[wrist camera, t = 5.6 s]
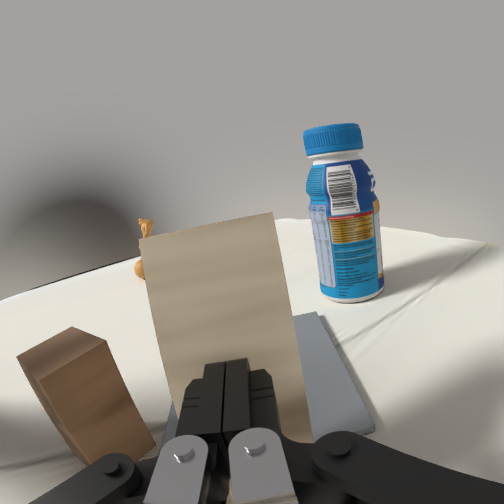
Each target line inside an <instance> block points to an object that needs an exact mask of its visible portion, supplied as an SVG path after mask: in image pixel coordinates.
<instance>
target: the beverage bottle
mask: <svg viewBox="0 0 504 504" xmlns="http://www.w3.org/2000/svg"><path fill="white" fill-rule="evenodd" d="M303 139H304V145H305V150H306V154H307V156H308V159H310V158H314V163H313V165H312V167H311V170H310V172H309V175H308V178H307V183H306V192H307V193H308V195H309V196H310V199H311V202H310V205H309V217H310V219H311V222H312V229H313V235H314V242H315V248H316V255H317V262H318V270H319V277H320V289H321V293H322V295H323V296H324V297H325V298H327V299H329V300H331V301H335V302H340V303H354V302H361V301H365V300H368V299H371V298H373V297H375V296H376V295H378V294H379V293H380V292H381V291H382V290H383V287H384V275H383V263H382V248H381V235H380V224H379V201H378V199H377V197H376V195H375V194H374V186H375V179H374V177H373V174H372V172H371V171H370V169H369V168H368V166H367V165H366V164H365V162H364V161H363V160H362V159H361V158H360V156H359V154H358V152H362V151H363V143H362V142H363V141H362V136H361V130H360V128H359V125H358V124H354V123H344V124H334V125H327V126H321V127H316V128H312V129H308V130H306V131H304V133H303Z"/></svg>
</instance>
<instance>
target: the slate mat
mask: <svg viewBox="0 0 504 504" xmlns="http://www.w3.org/2000/svg"><path fill="white" fill-rule="evenodd" d="M293 322H294V327H295V333H296V338H297V344H298V350H299V356H300V361H301V367H302V373H303V379H304V385H305V391H306V397H307V403H308V409H309V416H310V422H311V428H312V435H313V441H314V443H315V442H316V441H317V440H318V439H319V438H321V437H322V436H324V435H326V434H328V433H331V432H335V431H350V432H353V433H356V434H358V435H364V434H368V433H371V432H374V431H375V425H374V423H373V421H372V419H371V417H370V415H369V413H368V411H367V409H366V407H365V405H364V403H363V401H362V399H361V397H360V395H359V393H358V391H357V389H356V387H355V385H354V383H353V381H352V379H351V377H350V375H349V373H348V371H347V369H346V367H345V365H344V363H343V362H342V360H341V358H340V356H339V354H338V352H337V350H336V348H335V346H334V344H333V342H332V340H331V339H330V337H329V335H328V333H327V331H326V329H325V327H324V325H323V323H322V321H321V320H320V318H319V316H318V314H317V312H311V313H307V314H302V315H297V316H293ZM177 425H178V417H177V414H176V410H175V407H174V403H173V402H172V406H171V410H170V414H169V417H168V421H167V425H166V429H165V433H164V438H163V442H162V446H161V449H162V447H163V446H164V445H165V444H166V443H167V442H168V441H170V440H171V439H173V438H175V435H176V430H177ZM160 451H161V450H160Z"/></svg>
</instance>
